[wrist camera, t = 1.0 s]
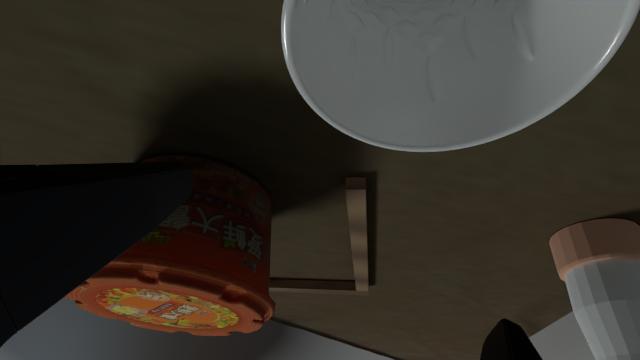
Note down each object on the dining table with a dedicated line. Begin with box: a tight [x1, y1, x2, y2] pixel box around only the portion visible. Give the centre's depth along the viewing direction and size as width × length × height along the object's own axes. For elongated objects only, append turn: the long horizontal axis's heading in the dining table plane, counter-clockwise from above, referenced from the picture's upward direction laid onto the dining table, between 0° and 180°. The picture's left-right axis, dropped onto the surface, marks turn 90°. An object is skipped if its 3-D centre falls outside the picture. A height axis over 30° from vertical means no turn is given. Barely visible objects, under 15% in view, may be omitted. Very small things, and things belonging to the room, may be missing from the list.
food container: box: [66, 154, 276, 336], centre depth 32 cm, size 16×16×11 cm
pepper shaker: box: [549, 218, 640, 360], centre depth 31 cm, size 7×7×19 cm
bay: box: [269, 177, 369, 295], centre depth 43 cm, size 26×30×1 cm
